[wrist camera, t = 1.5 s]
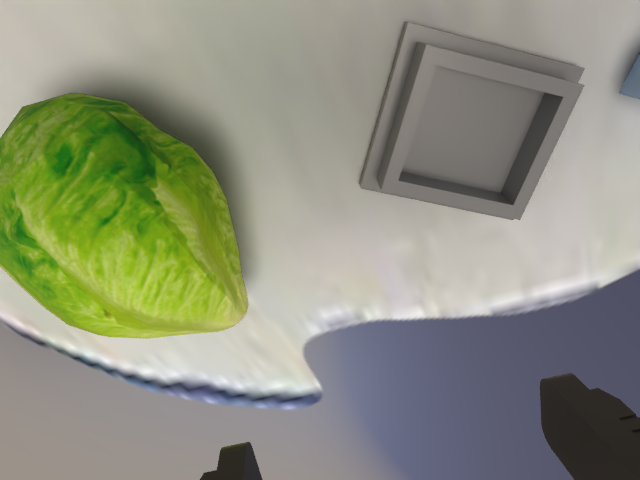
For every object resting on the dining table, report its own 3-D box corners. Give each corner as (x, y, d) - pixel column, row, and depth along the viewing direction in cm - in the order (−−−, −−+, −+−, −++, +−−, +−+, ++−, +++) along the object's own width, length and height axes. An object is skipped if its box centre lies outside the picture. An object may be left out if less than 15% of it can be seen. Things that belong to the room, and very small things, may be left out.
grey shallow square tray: (405, 21, 30) (416, 23, 27) (576, 66, 32) (605, 72, 29) (359, 183, 36) (364, 200, 33) (508, 215, 37) (526, 233, 34)
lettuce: (173, 325, 42) (118, 453, 30) (-8, 153, 34) (-181, 232, 22) (307, 244, 38) (307, 352, 26) (140, 29, 30) (30, 44, 18)
